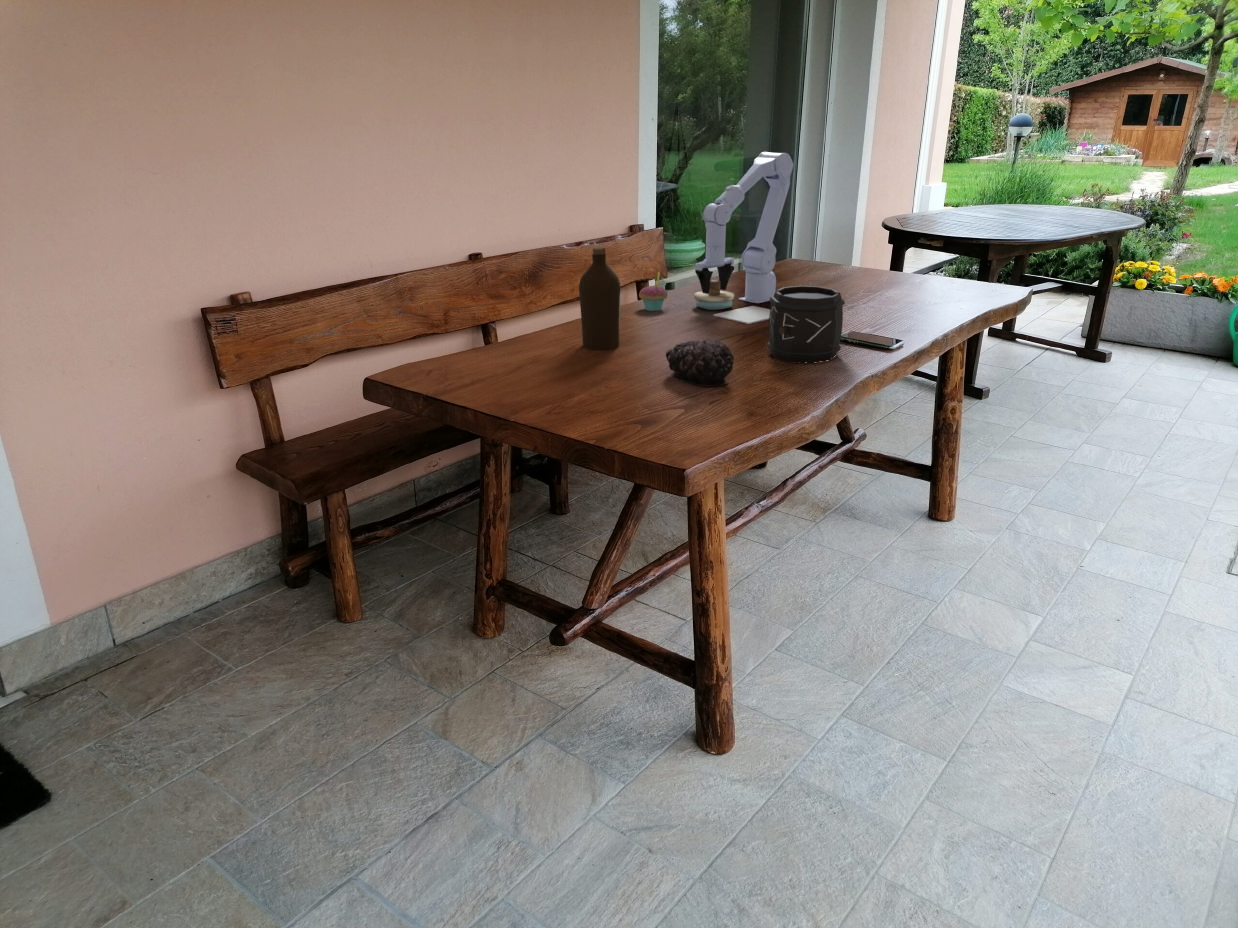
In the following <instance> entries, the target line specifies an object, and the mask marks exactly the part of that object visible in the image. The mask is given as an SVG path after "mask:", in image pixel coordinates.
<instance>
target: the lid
mask: <svg viewBox="0 0 1238 928" xmlns="http://www.w3.org/2000/svg"><path fill="white" fill-rule="evenodd" d="M693 295H694V296H693V298H694V299H695V301H696V300H699V301H705V302H725V301H730V300H732V301H733V300H734V299H735V293H733V292H730V291H727V290H721V289H720V281H719V279H712V280H710V290H709V294H706V293H702V290H701V291H697V292H695V293H694V294H693Z"/></svg>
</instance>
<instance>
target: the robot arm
mask: <svg viewBox="0 0 1238 928" xmlns="http://www.w3.org/2000/svg"><path fill="white" fill-rule="evenodd" d="M793 169H794V162H793V160H792V157H791V156H790V154H789V153H788V152H769V151H763V152H760V153H759V155H757V157H755V159H754V160H753V164H752V166H751V167H750V168H748V170H747V171H746V173H745V174H744V175H743V176H742V178H741V179H740V180H739V181H738V182H737V183H736V185H734V184H730V185H728V186H726V187H725V190H724V191H723V193H722V194H721V195H719V196H718V197H717V198H716V199H715V200H714V203H709V204H707V205H706V206H705V207H704V210H703V213H701V217H702V219H703V221H704V223H705V224H704V226H705V229H706V232H705V234H706V235H705V258H704V259H703V260H702V261H700V262H696V263H695V267H694V268H695V271H694V272H695V274H696V276H697V278H698V280H699V281H698V282H699V284H700V287H701V291H702V293H706V294H709V290H710V280H711V279H712V276H713V274H714V271H711V270H710V269H713V268H716V269H717V273H718V280H719V281H720V291H727V287H728V284H729V280H730V278H731V276H732V274H733V272H734V271H735V265H734V264H735V258H734V257H726V235H727V234H726V230H727V223H729V221H730V220H731V217H732V214H733V211H735V209H737V207H738V206H740V204H742V202H743V201H744V200H745V194H746V192H748V191H749V190H750V189H751V188H752V187H753V186H754V185H756V183H758V182H759V181H760V180H761V179H762V178H763V179H765V181H766V182H767V183H768V185H769V190H768V193H767V197H766V200H765V203H764V207H763V210H762V214H761V218H760V220H759V223H758V227H757V230H756V234H755V237H754V238H753V239H752V240H750V241H749V242H748V243H747V246H746V248H745V250H744V251H743V252H742V254H741V259H740V260H741V265H742V267H743V268H744V271H745V285H744V286H745V290H744V291H745V292H744V297H738V300H739V301H743V302H748V303H754V304H760V303H767V302H770V301H769V300H770V297H772V296H774V294H775V291H776V290H777V289H776V286H777V277H776V274H775V273H774V271H773V269H774V268H775V265H776V255H777V251H778V250H777V248H776V246H775V245H774V243H773V241H774V237H775V234H776V231H777V229H778V225H779V221H780V218H781V215H782V212H783V210H784V209H783V208H784V206H785V202H786V199H787V195H788V192H789V189H790V185H791V175H792V172H793Z"/></svg>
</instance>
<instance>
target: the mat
mask: <svg viewBox="0 0 1238 928" xmlns="http://www.w3.org/2000/svg"><path fill="white" fill-rule="evenodd" d="M770 309H771V308H770ZM770 309H769V308H765V307H760V306H756V305H750V306H745V307H741V308H736V309H732V310H731V309H730V310H727V311H723V312H719V313H713V314H712V316H713V317H716V318H721V319H725V320H729V321H734V322H737V323H743V324H746V325H750V324H755V323H756V324H757V323H759V322H764V321H769V315H770Z"/></svg>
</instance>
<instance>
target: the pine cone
mask: <svg viewBox="0 0 1238 928" xmlns="http://www.w3.org/2000/svg"><path fill="white" fill-rule="evenodd" d="M665 358H666V361H667V362H668V367H669V369H670V370H671V371H673V372H672V373H671V377H672V378H673V379H675V380H677V381H680V382H684V383H689V384H693V385H695V386H701V387H716V386H717V387H718V386H723V385H726V384H728V383H729V381H728V379H725V378H727V376H729V374H731V372H732V370H733V367H734V358H735V357H734V354H732V351H731V350H730V348H729V346H727V344H725V343H723V342H722V341H720V340H717V339H713V338H706V339H695V340H688V341H686V342H680V343H677V344H675V346H674V347H673V348H670V349H668V350H666V352H665Z"/></svg>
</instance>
